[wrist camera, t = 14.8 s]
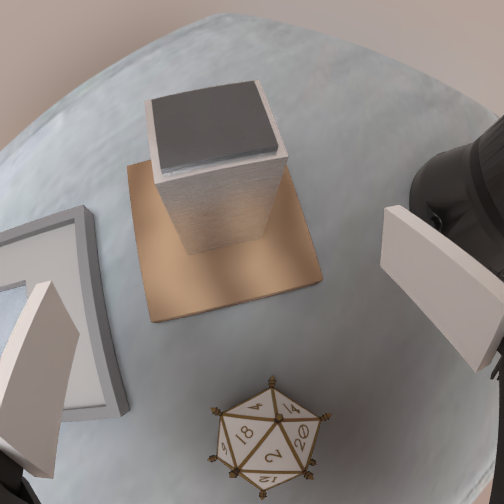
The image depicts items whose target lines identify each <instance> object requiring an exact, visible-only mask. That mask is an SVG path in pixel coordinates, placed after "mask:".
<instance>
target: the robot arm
mask: <svg viewBox="0 0 504 504" xmlns="http://www.w3.org/2000/svg"><path fill="white" fill-rule="evenodd" d="M410 211H411V212H410ZM410 211H408V210H407V209H405V208H404V207H402V206H401V205H396V206H390V207H385V208H384V224H383V237H382V249H381V260H380V266H381V267H382V269H383V270H384V271H385V272H386V273H387V274H388V275H389V276H390V277H391V278H392V279H393V280H394V281H395V282H396V283H397V284H398V285H399V286H400V287H401V288H402V289H403V291H404V292H405V293H406V294H407V295H408V296H409V297H410V298H411V299H412V300H413V301H414V302H415V303H416V305H417V306H418V307H419V308H420V309H421V310H422V311H423V312H424V313H425V314H426V316H427V317H428V318H429V319H430V320H431V321H432V322H433V323H434V325H435V326H436V327H437V328H438V329H439V330H440V331H441V333H442V334H443V335H444V336H445V337H446V338H447V339H448V341H449V342H450V343H451V344H452V345H453V346H454V348H455V349H456V350H457V351H458V352H459V354H460V355H461V356H462V357H463V358H464V360H465V361H466V362H467V363H468V364H469V366H470V367H471V368H472V369H473V371H474V372H475V373H476V372H478V371H479V370H481V369H482V368H484V367H485V366H487V365H489V364H490V363H491V361H492V359H493V357H494V355H495V353H496V352H497V351H498V352H499V353H500V354H501V355H502V356H501V358H500V360H499V361H498V363H497V365H496V367H495V369H494V370H493V372H492V374H491V378H490V379H494V377H495V375H496V374H497V372H498V371H499V376H498V378H497V380H499V429H498V444H497V454H496V463H495V471H494V478H493V485H492V491H491V496H490V502H489V504H504V277H503V276H502V275H503V274H504V115H503V116H502V117H501V118H500V119H499V120H498V121H497V122H496V123H494V124H493V125H492V126H491V127H490V128H489V129H488V130H487V131H486V132H485V133H484V134H483V135H482V136H480V137H479V138H478V139H477V140H476V141H475V142H474V143H471V144H468V145H465V146H461V147H458V148H455V149H452V150H450V151H447V152H443V153H440V154H438V155H436V156H434V157H433V158H432V159H430V160H429V161H428V162H427V163H426V164H425V165H424V166H423V167H422V168H421V169H420V170H419V171H418V173H417V174H416V176H415V178H414V180H413V183H412V187H411V192H410ZM79 336H80V333H79V331H78V330H77V328H76V326H75V324H74V323H73V321H72V319H71V317H70V315H69V313H68V312H67V310H66V308H65V306H64V304H63V302H62V300H61V298H60V296H59V294H58V292H57V290H56V288H55V286H54V284H53V282H52V280H51V281H46V282H42V283H38V284H36V286H35V287H34V289H33V291H32V293H31V295H30V297H29V299H28V301H27V303H26V305H25V307H24V309H23V311H22V313H21V315H20V317H19V319H18V321H17V323H16V325H15V327H14V329H13V331H12V333H11V336H10V338H9V340H8V342H7V345H6V347H5V349H4V352H3V354H2V356H1V359H0V504H41V502H40V501H39V499H38V498H37V496H36V494H35V492H34V491H33V489H32V487H31V485H30V484H29V482H28V481H27V480H26V478H24V477H23V476H22V474H23V469H25V470H26V471H27V472H29V473H30V474H31V475H33V476H34V477H40V478H52V479H53V478H54V468H55V459H56V451H57V443H58V436H59V430H60V423H61V417H62V412H63V406H64V401H65V396H66V391H67V386H68V381H69V377H70V372H71V368H72V363H73V359H74V355H75V351H76V347H77V343H78V339H79Z"/></svg>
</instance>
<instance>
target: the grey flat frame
mask: <svg viewBox="0 0 504 504" xmlns="http://www.w3.org/2000/svg"><path fill="white" fill-rule="evenodd" d="M51 280H52V282H53V284H54V286H55V288H56V290H57V292H58V294H59V296H60V298H61V300H62V302H63V304H64V306H65V308H66V310H67V312H68V313H69V315H70V317H71V319H72V321H73V323H74V324H75V326H76V328H77V330H78V331H79V333H80V336H79V339H78V343H77V347H76V351H75V355H74V359H73V363H72V368H71V372H70V377H69V381H68V386H67V391H66V396H65V401H64V406H63V412H62V417H61V422H72V421H85V420H96V419H106V418H115V417H121V416H123V415H124V414H126V413H127V412H128V411H130V409H129V406H128V402H127V399H126V395H125V391H124V388H123V384H122V380H121V376H120V373H119V368H118V364H117V360H116V356H115V352H114V347H113V343H112V338H111V333H110V328H109V323H108V318H107V313H106V307H105V302H104V296H103V290H102V283H101V276H100V269H99V262H98V254H97V245H96V236H95V226H94V215H93V214H92V213H91V212H90V211H89V210H88V209H87V208H86V207H85V206H84V205H81V206H78V207H74V208H71V209H68V210H65V211H62V212H59V213H56V214H53V215H50V216H47V217H44V218H41V219H38V220H35V221H32V222H29V223H26V224H23V225H20V226H18V227H15V228H12V229H9V230H7V231H4V232H1V233H0V292H1V291H4V290H8V289H12V288H15V287H19V286H23V285H26V289H27V299H29V297H30V295H31V293H32V291H33V289H34V287H35V286H36V284H38V283H42V282H46V281H51Z"/></svg>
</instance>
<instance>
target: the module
mask: <svg viewBox="0 0 504 504" xmlns="http://www.w3.org/2000/svg"><path fill="white" fill-rule="evenodd" d="M144 102H145V112H146V121H147V130H148V138H149V147H150V154H151V162H152V169H153V176H154V183H155V186H156V188H157V190H158V193H159V195H160V197H161V199H162V201H163V204H164V206H165V208H166V210H167V212H168V214H169V217H170V219H171V221H172V223H173V225H174V227H175V229H176V231H177V233H178V236H179V238H180V240H181V242H182V244H183V246H184V248H185V250H186V252H187V254H188V256H189V255H194V254H198V253H202V252H206V251H211V250H215V249H219V248H224V247H228V246H232V245H236V244H241V243H245V242H249V241H254V240H258V239H262V236H263V233H264V230H265V227H266V224H267V220H268V217H269V214H270V211H271V208H272V205H273V202H274V199H275V196H276V193H277V190H278V187H279V184H280V181H281V178H282V175H283V172H284V169H285V165H286V162H287V159H288V154H287V151H286V149H285V146H284V143H283V140H282V138H281V135H280V132H279V130H278V127H277V124H276V122H275V119H274V116H273V114H272V111H271V109H270V106H269V104H268V101H267V98H266V96H265V93H264V91H263V88H262V86H261V83H260V81H259V80H254V81H246V82H239V83H232V84H226V85H220V86H214V87H208V88H202V89H197V90H192V91H187V92H182V93H177V94H173V95H168V96H164V97H160V98H156V99H151V100H147V101H144Z"/></svg>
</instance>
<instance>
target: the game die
mask: <svg viewBox="0 0 504 504" xmlns="http://www.w3.org/2000/svg"><path fill="white" fill-rule="evenodd" d="M268 381H269V383H268V384H269V386H270V387H269V388H268V389H266V390H264V391H262V392H260V393H259V394H257V395H255V396H253V397H251V398H249V399H247V400H245V401H244V402H242V403H240V404H238V405H236V406H234V407H232V408H230V409H228V410H226V411H224V412H221V411H220V409H218V408H217V407H216V408H211V410H212V412H213V414H215V415H218V416H220V422H219V433H218V445H217V455H216V456H215V455H212V456H210V457H209V458H208V459H207V461H211V462H213V461H216V460H217V459H218V460H220V461H221V462H222V463H224V464H225V465H226V466H228V467H229V468H230V469H232V471H231V472H229V474H230V478H236V477H237V476H238V475H240V476H241V477H243V478H244V479H245V480H247V481H248V482H250V483H251V484H253V485H254V486H255V487H257V488H258V489H260V490H261V492H260V493H259V494H260V495H259V497H260V498H261V500H263V499H264V498H265V497H267V496H266V494H267V493H266V490H268V489H270V488H272V487H275V486H277V485H279V484H282V483H284V482H286V481H289V480H291V479H293V478H295V477H297V476H300V475H302V474H303V475H304V477H306V479H314V478H313V474H312V473H310V471H307V468H308V465H309V464H310V465H311V466H314V465H317V464H316V461H315V460H313V459H311V456H312V452H313V449H314V446H315V442H316V439H317V435H318V431H319V428H320V424H321V421H324V420H325V421H326V420H327V419H328V420H329V418H330V416H331V415H332V414H330V413H325V414H324V415H322V416H321V417H318V416H317V415H315V414H313V413H312V412H310V411H309V410H307V409H306V408H304V407H302V406H301V405H299V404H298V403H296V402H295V401H293V400H292V399H290V398H288V397H287V396H285V395H284V394H282V393H281V392H279V391H278V390H276V389H275V388H274V386H275V385H276V384H275V379H274V377H273V376H272V377H271V378H270V380H268Z"/></svg>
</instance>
